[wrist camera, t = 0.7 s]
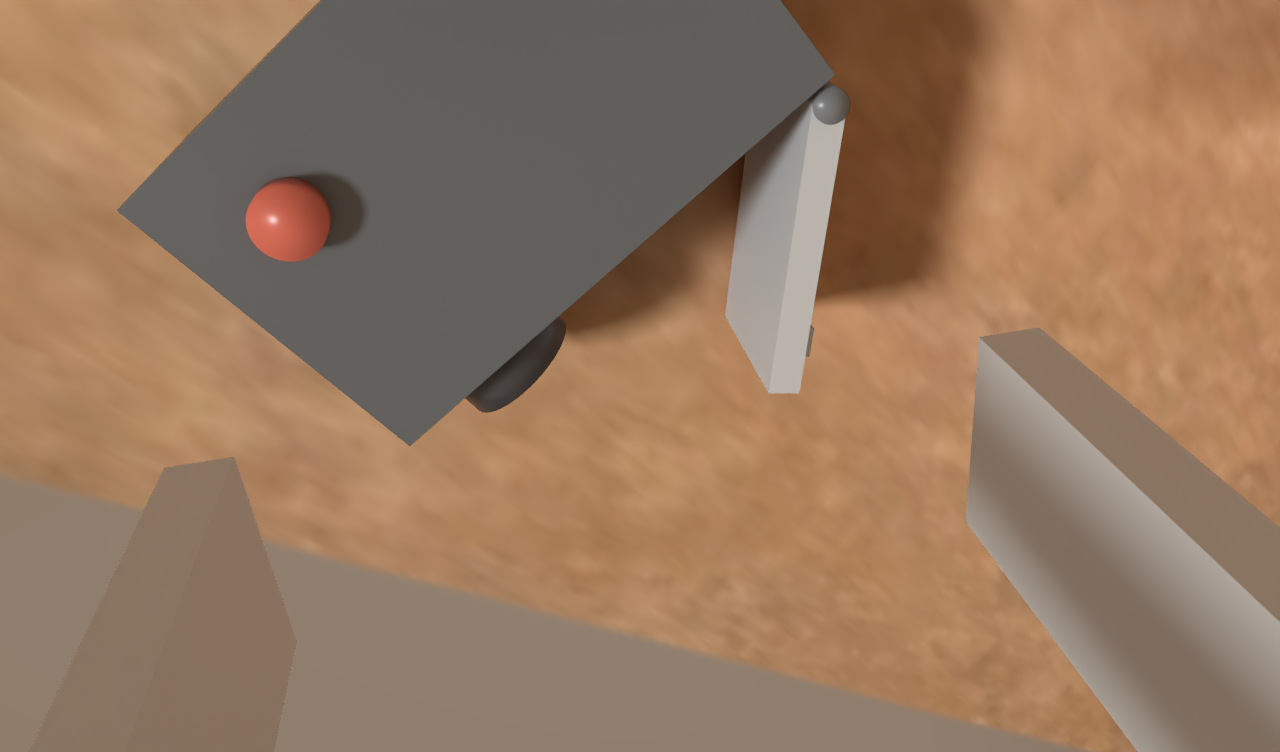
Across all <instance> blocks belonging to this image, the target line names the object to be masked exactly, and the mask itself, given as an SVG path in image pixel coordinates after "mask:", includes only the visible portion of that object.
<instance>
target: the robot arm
mask: <svg viewBox="0 0 1280 752" xmlns="http://www.w3.org/2000/svg"><path fill="white" fill-rule="evenodd" d="M966 523H967V524H968V525H969V527H970V528H971V529H972V531H973V532H974V533H975V535H976V536H977V537H978V539H979V540H980V541H981V543H982V544H983V546H984V547H985V548H986V550H987V551H988V552H989V554H990V555H991V556H992V558H993V559H994V560H995V562H996V563H997V564H998V566H999V567H1000V568H1001V570H1002V571H1003V572H1004V574H1005V575H1006V576H1007V578H1008V579H1009V580H1010V582H1011V583H1012V584H1013V586H1014V587H1015V588H1016V590H1017V591H1018V592H1019V594H1020V595H1021V596H1022V598H1023V599H1024V600H1025V602H1026V603H1027V604H1028V606H1029V607H1030V608H1031V610H1032V611H1033V612H1034V614H1035V615H1036V616H1037V618H1038V619H1039V620H1040V622H1041V623H1042V624H1043V626H1044V627H1045V628H1046V630H1047V631H1048V632H1049V634H1050V635H1051V636H1052V638H1053V639H1054V640H1055V642H1056V643H1057V644H1058V646H1059V647H1060V648H1061V650H1062V651H1063V653H1064V654H1065V655H1066V657H1067V658H1068V659H1069V661H1070V662H1071V663H1072V665H1073V666H1074V667H1075V669H1076V670H1077V671H1078V673H1079V674H1080V675H1081V677H1082V678H1083V679H1084V681H1085V682H1086V683H1087V685H1088V686H1089V687H1090V689H1091V690H1092V691H1093V693H1094V694H1095V695H1096V697H1097V698H1098V699H1099V701H1100V702H1101V703H1102V705H1103V706H1104V707H1105V709H1106V710H1107V711H1108V713H1109V714H1110V715H1111V717H1112V718H1113V719H1114V721H1115V722H1116V723H1117V725H1118V726H1119V727H1120V729H1121V730H1122V731H1123V733H1124V734H1125V735H1126V737H1127V738H1128V739H1129V741H1130V742H1131V743H1132V745H1133V746H1134V747H1135V749H1136V750H1137V751H1138V752H1280V527H1278V526H1277V525H1276V524H1275V523H1274V522H1272V521H1271V520H1270V519H1269V518H1268V517H1266V516H1265V515H1264V514H1263V513H1262V512H1260V511H1259V510H1258V509H1257V508H1256V507H1254V506H1253V505H1252V504H1251V503H1250V502H1248V501H1247V500H1246V499H1245V498H1243V497H1242V496H1241V495H1240V494H1239V493H1237V492H1236V491H1235V490H1234V489H1233V488H1231V487H1230V486H1229V485H1228V484H1227V483H1225V482H1224V481H1223V480H1222V479H1221V478H1219V477H1218V476H1217V475H1216V474H1215V473H1213V472H1212V471H1211V470H1210V469H1209V468H1207V467H1206V466H1205V465H1204V464H1203V463H1201V462H1200V461H1199V460H1198V459H1197V458H1195V457H1194V456H1193V455H1192V454H1191V453H1189V452H1188V451H1187V450H1186V449H1185V448H1183V447H1182V446H1181V445H1180V444H1179V443H1177V442H1176V441H1175V440H1174V439H1173V438H1171V437H1170V436H1169V435H1168V434H1167V433H1165V432H1164V431H1163V430H1162V429H1161V428H1159V427H1158V426H1157V425H1156V424H1155V423H1153V422H1152V421H1151V420H1150V419H1149V418H1147V417H1146V416H1145V415H1144V414H1143V413H1141V412H1140V411H1139V410H1138V409H1137V408H1135V407H1134V406H1133V405H1132V404H1130V403H1129V402H1128V401H1127V400H1126V399H1124V398H1123V397H1122V396H1121V395H1120V394H1118V393H1117V392H1116V391H1115V390H1114V389H1112V388H1111V387H1110V386H1109V385H1108V384H1106V383H1105V382H1104V381H1103V380H1102V379H1100V378H1099V377H1098V376H1097V375H1096V374H1094V373H1093V372H1092V371H1091V370H1090V369H1088V368H1087V367H1086V366H1085V365H1084V364H1082V363H1081V362H1080V361H1079V360H1078V359H1076V358H1075V357H1074V356H1073V355H1072V354H1070V353H1069V352H1068V351H1067V350H1066V349H1064V348H1063V347H1062V346H1061V345H1060V344H1058V343H1057V342H1056V341H1055V340H1054V339H1052V338H1051V337H1050V336H1049V335H1048V334H1046V333H1045V332H1044V331H1043V330H1042V329H1040V328H1034V329H1028V330H1021V331H1015V332H1009V333H1003V334H996V335H990V336H984V337H979V345H978V360H977V374H976V388H975V402H974V416H973V430H972V444H971V458H970V472H969V486H968V500H967V514H966ZM296 642H297V641H296V637H295V635H294V632H293V629H292V626H291V623H290V621H289V617H288V614H287V611H286V608H285V605H284V602H283V599H282V596H281V593H280V591H279V587H278V584H277V582H276V579H275V576H274V573H273V570H272V567H271V564H270V561H269V558H268V555H267V552H266V549H265V546H264V543H263V540H262V537H261V534H260V531H259V528H258V526H257V523H256V520H255V517H254V514H253V511H252V508H251V505H250V502H249V499H248V496H247V493H246V490H245V487H244V484H243V481H242V478H241V475H240V472H239V470H238V467H237V464H236V461H235V458H234V457H229V458H223V459H217V460H211V461H205V462H198V463H192V464H186V465H180V466H173V467H167V468H164V470H163V472H162V474H161V476H160V478H159V480H158V482H157V484H156V486H155V488H154V491H153V493H152V495H151V497H150V499H149V501H148V503H147V505H146V507H145V509H144V511H143V514H142V516H141V518H140V520H139V522H138V524H137V526H136V528H135V531H134V532H133V535H132V537H131V539H130V541H129V543H128V545H127V547H126V549H125V552H124V553H123V556H122V558H121V560H120V562H119V564H118V566H117V568H116V570H115V573H114V574H113V577H112V579H111V581H110V583H109V585H108V587H107V589H106V591H105V593H104V595H103V597H102V599H101V602H100V604H99V606H98V608H97V610H96V612H95V614H94V616H93V618H92V620H91V623H90V625H89V627H88V629H87V631H86V633H85V635H84V637H83V639H82V641H81V643H80V646H79V648H78V650H77V652H76V654H75V656H74V658H73V660H72V662H71V664H70V667H69V669H68V671H67V673H66V675H65V677H64V679H63V681H62V683H61V685H60V687H59V690H58V692H57V694H56V696H55V698H54V700H53V703H52V704H51V706H50V708H49V711H48V713H47V715H46V717H45V719H44V721H43V723H42V726H41V727H40V730H39V732H38V734H37V736H36V738H35V740H34V742H33V744H32V746H31V748H30V751H29V752H274V748H275V743H276V739H277V734H278V728H279V723H280V719H281V714H282V710H283V705H284V700H285V695H286V690H287V685H288V680H289V676H290V671H291V666H292V661H293V656H294V651H295V646H296Z"/></svg>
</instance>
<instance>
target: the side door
mask: <svg viewBox="0 0 1280 752" xmlns="http://www.w3.org/2000/svg"><path fill="white" fill-rule="evenodd" d="M849 109H850V100H849V97H848V95H847V94H846V92H844V91H843V90H842V89H840V88H838V87H837V86H835V85H834V84H832V83H831V82H829V81H828V82H826V83H825V84H824V85H823V86H822V87H821V88H820V89H818V90H817V91H816V92H815V93H814V94H813V95H812V96H810V97H809V98H808V99H807V100H806V101H805V102H804V103H802V104H801V105H800V106H799V107H798V108H797V109H796V110H794V111H793V112H792V113H791V114H790V115H789V116H787V117H786V118H785V119H784V120H783V121H782V122H781V123H779V124H778V125H777V126H776V127H775V128H774V129H773V130H771V131H770V132H769V133H768V134H767V135H766V136H765V137H763V138H762V139H761V140H760V141H759V142H758V143H757V144H755V145H754V146H753V147H752V148H751V149H750V150H749V151H747V152H746V154H745V162H744V170H743V178H742V186H741V194H740V202H739V210H738V218H737V225H736V233H735V241H734V249H733V257H732V265H731V273H730V281H729V289H728V297H727V305H726V313H725V317H726V318H727V320H728V322H729V324H730V325H731V327H732V329H733V331H734V333H735V334H736V336H737V338H738V340H739V341H740V343H741V345H742V347H743V349H744V350H745V352H746V354H747V356H748V357H749V359H750V361H751V363H752V365H753V366H754V368H755V370H756V372H757V373H758V375H759V377H760V379H761V381H762V382H763V384H764V386H765V388H766V389H767V391H768V393H799V391H800V385H801V379H802V373H803V367H804V361H805V357H809V355H810V349H811V343H812V337H813V331H814V328H813V326H812V325H811V320H812V314H813V308H814V302H815V296H816V290H817V284H818V278H819V272H820V266H821V260H822V254H823V248H824V242H825V236H826V230H827V224H828V218H829V212H830V206H831V200H832V194H833V188H834V183H835V177H836V171H837V165H838V159H839V153H840V147H841V141H842V135H843V129H844V123H845V117H846V116H847V114H848V112H849Z"/></svg>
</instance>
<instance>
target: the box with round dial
mask: <svg viewBox="0 0 1280 752" xmlns="http://www.w3.org/2000/svg"><path fill="white" fill-rule="evenodd" d="M834 75H835V74H834V72H833V71H832V70H831V68H830V67H829V65H828V64H827V63H826V61H825V60H824V59H823V57H822V56H821V55H820V53H819V52H818V50H817V49H816V48H815V46H814V45H813V44H812V42H811V41H810V40H809V38H808V37H807V35H806V34H805V33H804V31H803V30H802V29H801V27H800V26H799V25H798V23H797V22H796V21H795V19H794V18H793V16H792V15H791V14H790V12H789V11H788V10H787V8H786V7H785V6H784V4H783V3H782V1H781V0H320V1H319V2H318V3H317V4H316V5H315V6H314V7H313V8H312V9H311V10H310V11H309V12H308V13H307V14H306V15H305V16H304V17H303V18H302V19H301V20H300V22H299V23H298V24H297V25H296V26H295V27H294V28H293V29H292V30H291V31H290V32H289V33H288V34H287V35H286V36H285V37H284V38H283V39H282V40H281V41H280V42H279V43H278V44H277V45H276V46H275V47H274V48H273V49H272V50H271V51H270V52H269V53H268V54H267V55H266V56H265V57H264V58H263V59H262V60H261V61H260V62H259V63H258V64H257V65H256V66H255V67H254V68H253V69H252V70H251V71H250V73H249V74H248V75H247V76H246V77H245V78H244V79H243V80H242V81H241V82H240V83H239V84H238V85H237V86H236V87H235V88H234V89H233V90H232V91H231V92H230V93H229V94H228V95H227V96H226V97H225V98H224V99H223V100H222V101H221V102H220V103H219V104H218V105H217V106H216V107H215V108H214V109H213V110H212V111H211V112H210V113H209V114H208V115H207V116H206V117H205V118H204V119H203V120H202V121H201V122H200V124H199V125H198V126H197V127H196V128H195V129H194V130H193V131H192V132H191V133H190V134H189V135H188V136H187V137H186V138H185V139H184V140H183V141H182V142H181V143H180V144H179V145H178V146H177V147H176V148H175V149H174V150H173V151H172V153H171V154H170V155H169V156H168V157H167V158H166V159H165V160H164V161H163V162H162V163H161V164H160V165H159V166H158V167H157V168H156V169H155V171H154V172H153V173H152V174H151V175H150V176H149V177H148V178H147V179H146V180H145V181H144V182H143V183H142V184H141V185H140V186H139V187H138V189H137V190H136V191H135V192H134V193H133V194H132V195H131V196H130V197H129V198H128V199H127V200H126V201H125V202H124V203H123V204H122V205H121V207H120V208H119V209H118V210H117V211H118V212H119V213H121V214H122V215H123V216H124V217H126V218H127V219H128V220H129V221H131V222H132V223H133V224H134V225H136V226H137V227H138V228H139V229H141V230H142V231H143V232H144V233H146V234H147V235H148V236H149V237H151V238H152V239H153V240H154V241H156V242H157V243H158V244H159V245H160V246H162V247H163V248H164V249H165V250H167V251H168V252H169V253H170V254H172V255H173V256H174V257H175V258H177V259H178V260H179V261H180V262H182V263H183V264H184V265H185V266H187V267H188V268H189V269H190V270H192V271H193V272H194V273H195V274H197V275H198V276H199V277H200V278H201V279H203V280H204V281H205V282H206V283H208V284H209V285H210V286H211V287H213V288H214V289H215V290H216V291H218V292H219V293H220V294H221V295H223V296H224V297H225V298H226V299H228V300H229V301H230V302H231V303H233V304H234V305H235V306H236V307H238V308H239V309H240V310H241V311H243V312H244V313H245V314H246V315H247V316H249V317H250V318H251V319H252V320H254V321H255V322H256V323H257V324H259V325H260V326H261V327H262V328H264V329H265V330H266V331H267V332H269V333H270V334H271V335H272V336H274V337H275V338H276V339H277V340H279V341H280V342H281V343H282V344H284V345H285V346H286V347H287V348H288V349H290V350H291V351H292V352H293V353H295V354H296V355H297V356H298V357H300V358H301V359H302V360H303V361H305V362H306V363H307V364H308V365H310V366H311V367H312V368H313V369H315V370H316V371H317V372H318V373H320V374H321V375H322V376H323V377H325V378H326V379H327V380H328V381H330V382H331V383H332V384H333V385H334V386H336V387H337V388H338V389H339V390H341V391H342V392H343V393H344V394H346V395H347V396H348V397H349V398H351V399H352V400H353V401H354V402H356V403H357V404H358V405H359V406H361V407H362V408H363V409H364V410H366V411H367V412H368V413H369V414H371V415H372V416H373V417H374V418H375V419H377V420H378V421H379V422H380V423H382V424H383V425H384V426H385V427H387V428H388V429H389V430H390V431H392V432H393V433H394V434H395V435H397V436H398V437H399V438H400V439H402V440H403V441H404V442H405V443H407V444H408V445H409V446H411V445H412V444H413V443H414V442H415V441H416V440H417V439H419V438H420V437H421V436H422V435H423V434H424V433H425V432H427V431H428V430H429V429H430V428H431V427H432V426H433V425H435V424H436V423H437V422H438V421H439V420H440V419H442V418H443V417H444V416H445V415H446V414H447V413H448V412H450V411H451V410H452V409H453V408H454V407H455V406H456V405H458V404H459V403H460V402H461V401H462V400H463V399H464V398H465V399H467V400H468V401H469V402H470V403H471V404H472V405H474V406H475V407H476V408H477V409H478V410H479V411H481V412H485V413H487V412H493V411H496V410H498V409H501V408H502V407H504V406H506V405H508V404H509V403H511V402H512V401H514V400H515V399H517V398H518V397H519V396H520V395H522V394H523V393H524V392H525V391H526V390H527V389H528V388H529V387H531V385H532V384H533V383H534V382H535V381H536V380H537V379H538V378H539V377H540V376H541V375H542V374H543V372H544V371H545V370H546V369H547V367H548V366H549V365H550V363H551V362H552V360H553V359H554V357H555V356H556V354H557V352H558V351H559V349H560V347H561V344H562V342H563V339H564V336H565V332H566V324H565V322H564V320H563V319H562V318H561V317H560V315H561V314H562V313H563V312H564V311H565V310H566V309H568V308H569V307H570V306H571V305H572V304H573V303H574V302H576V301H577V300H578V299H579V298H580V297H581V296H582V295H584V294H585V293H586V292H587V291H588V290H589V289H590V288H592V287H593V286H594V285H595V284H596V283H597V282H598V281H600V280H601V279H602V278H603V277H604V276H605V275H606V274H608V273H609V272H610V271H611V270H612V269H613V268H614V267H616V266H617V265H618V264H619V263H620V262H621V261H623V260H624V259H625V258H626V257H627V256H628V255H629V254H631V253H632V252H633V251H634V250H635V249H636V248H637V247H639V246H640V245H641V244H642V243H643V242H644V241H645V240H647V239H648V238H649V237H650V236H651V235H652V234H653V233H655V232H656V231H657V230H658V229H659V228H660V227H661V226H663V225H664V224H665V223H666V222H667V221H668V220H669V219H671V218H672V217H673V216H674V215H675V214H676V213H678V212H679V211H680V210H681V209H682V208H683V207H684V206H686V205H687V204H688V203H689V202H690V201H691V200H692V199H694V198H695V197H696V196H697V195H698V194H699V193H700V192H702V191H703V190H704V189H705V188H706V187H707V186H708V185H710V184H711V183H712V182H713V181H714V180H715V179H716V178H718V177H719V176H720V175H721V174H722V173H723V172H724V171H726V170H727V169H728V168H729V167H730V166H731V165H732V164H734V163H735V162H736V161H737V160H738V159H739V158H741V157H742V156H743V155H744V154H745V153H746V152H747V151H749V150H750V149H751V148H752V147H753V146H754V145H755V144H757V143H758V142H759V141H760V140H761V139H762V138H763V137H765V136H766V135H767V134H768V133H769V132H770V131H771V130H773V129H774V128H775V127H776V126H777V125H778V124H779V123H781V122H782V121H783V120H784V119H785V118H786V117H787V116H789V115H790V114H791V113H792V112H793V111H794V110H796V109H797V108H798V107H799V106H800V105H801V104H802V103H804V102H805V101H806V100H807V99H808V98H809V97H810V96H812V95H813V94H814V93H815V92H816V91H817V90H818V89H820V88H821V87H822V86H823V85H824V84H825V83H826V82H828V81H829V80H830V79H831V78H832V77H833V76H834Z"/></svg>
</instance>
